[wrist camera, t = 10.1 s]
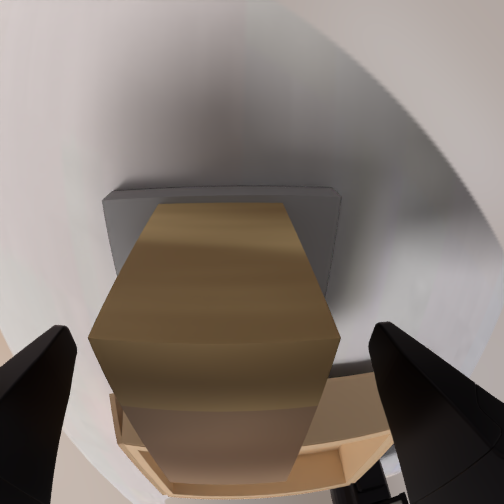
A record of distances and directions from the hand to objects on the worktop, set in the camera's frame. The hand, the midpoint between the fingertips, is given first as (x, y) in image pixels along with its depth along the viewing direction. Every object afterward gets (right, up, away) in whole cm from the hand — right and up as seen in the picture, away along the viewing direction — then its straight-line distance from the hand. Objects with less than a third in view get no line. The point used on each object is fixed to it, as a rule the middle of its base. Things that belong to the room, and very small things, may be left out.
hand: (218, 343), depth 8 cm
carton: (+1, -10, +11) cm, 15 cm away
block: (0, +1, +3) cm, 4 cm away
